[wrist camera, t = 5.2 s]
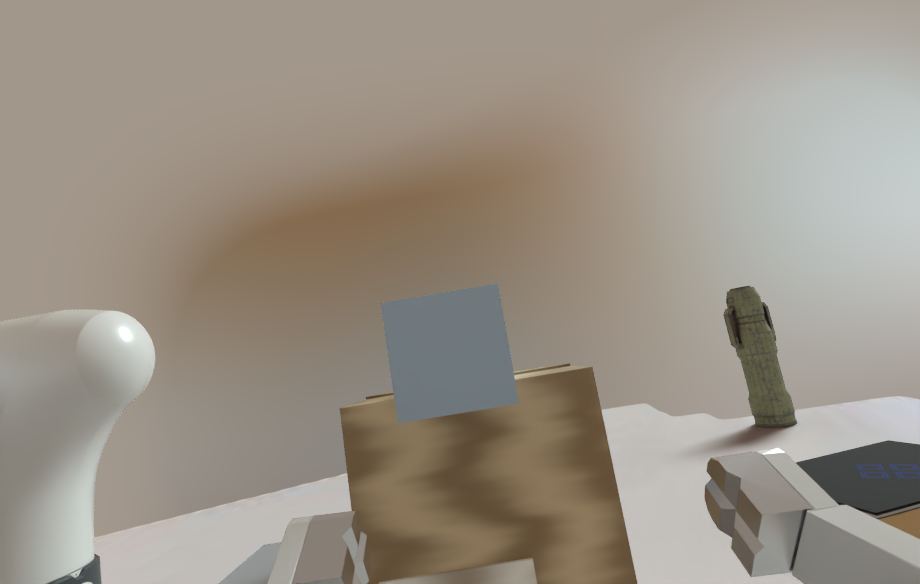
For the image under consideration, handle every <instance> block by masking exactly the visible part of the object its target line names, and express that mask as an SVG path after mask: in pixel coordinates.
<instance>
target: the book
mask: <svg viewBox="0 0 920 584" xmlns="http://www.w3.org/2000/svg"><path fill="white" fill-rule="evenodd" d="M796 464H797V465H798V466H799V467H800V468H801V469H802V470H803V471H804V472H806V473H807V474H808V475H809V476H810V477H811V478H812V479H813V480H814V481H815V482H816V483H817V484H818V485H819V486H820V487H821V488H822V489H823V490H824V491H825V492H826V493H827V494H828V495H829V496H830V497H831V498H832V499H833V500H834V501H835V502H836V503H837V504H838V505H848V506H850V507H852V508H854V509H857V510H859V511H861V512H863V513H865V514H867V515H869V516H871V517H874V518H876V519H878V520H880V521H882V522H884V523H886V524H888V525H891V526H893V527H895V528H897V529H899V530H901V531H903V532H905V533H908V534H910V535H912V536H914V537H916V538H918V539H920V445H919V444H911V443H903V442H895V441H884V442H880V443H876V444H872V445H867V446H863V447H859V448H855V449H851V450H847V451H843V452H838V453H834V454H830V455H826V456H822V457H818V458H813V459H809V460H805V461H801V462H797V463H796Z"/></svg>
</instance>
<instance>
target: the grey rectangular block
mask: <svg viewBox="0 0 920 584" xmlns="http://www.w3.org/2000/svg"><path fill="white" fill-rule="evenodd" d="M281 543H282V542H280V543H274V544H267V545H263V546H262V547H261V548H260V549H259V550H257V551H256V552H255V553H254V554H253V555H252V556H250V557H249V558H248V559H247V560H246V561H245V562H243V563H242V564H241V565H240V566H239V567H238V568H236V569H235V570H234V571H233V572H232V573H231V574H229V575H228V576H227V577H226V578H225V579H224V580H222V581H221V582H220V583H219V584H267V583H268V580H269V577H270V574H271V571H272V569H273V566H274V563H275V560H276V557H277V554H278V551H279V548H280V546H281Z"/></svg>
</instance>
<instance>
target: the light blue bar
mask: <svg viewBox="0 0 920 584" xmlns="http://www.w3.org/2000/svg"><path fill="white" fill-rule="evenodd" d="M381 308H382V314H383V321H384V329H385V336H386V342H387V349H388V357H389V364H390V371H391V378H392V385H393V392H394V399H395V406H396V414H397V421H398V423H404V422H410V421H416V420H423V419H429V418H435V417H441V416H447V415H453V414H459V413H465V412H471V411H477V410H483V409H490V408H496V407H502V406H508V405H514V404H519V400H518V395H517V389H516V383H515V378H514V372H513V367H512V361H511V355H510V350H509V344H508V339H507V333H506V327H505V322H504V316H503V310H502V305H501V299H500V294H499V288H498V284H492V285H486V286H480V287H474V288H468V289H462V290H457V291H451V292H444V293H439V294H433V295H427V296H421V297H415V298H409V299H403V300H397V301H391V302H385V303H381Z"/></svg>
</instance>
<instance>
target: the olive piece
mask: <svg viewBox="0 0 920 584" xmlns="http://www.w3.org/2000/svg"><path fill="white" fill-rule="evenodd" d="M726 303H727V307H728V309H726V310H725V312H724V318H725V322H726V326H727V330H728V334H729V337H730V342H731V345H732V346H733V347H735V348H736V352H737V355H738V357H739V358H740V359H741V363H742V367H743V370H744V374H745V378H746V382H747V386H748V390H749V403H750V407H751V411H752V415H753V416H754V418H755V423H756V425H757V426H759V427H785V426H791V425H794V424H796V423H797V421H796V419H795V415H794V412H795V411H794V407H793V403H792V400H791V396H790V394H789V393H788V392H787V390H786V388H785V384H784V381H783V377H782V373H781V370H780V366H779V362H778V359H777V355H776V354H777V347H776V343H775V341H776V336H775V332H774V328H773V324H772V320H771V317H770V313H769V310H768V307H767V306H766V304H765V303H763V302H761V299H760V296H759V294H758V293H757V291H756V290H755V288H754V287H750V286H746V287H739V288H735V289H731V290H730V291H729V292H727V299H726Z"/></svg>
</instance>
